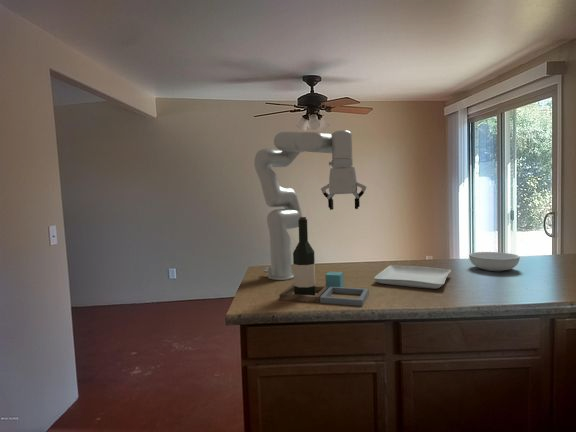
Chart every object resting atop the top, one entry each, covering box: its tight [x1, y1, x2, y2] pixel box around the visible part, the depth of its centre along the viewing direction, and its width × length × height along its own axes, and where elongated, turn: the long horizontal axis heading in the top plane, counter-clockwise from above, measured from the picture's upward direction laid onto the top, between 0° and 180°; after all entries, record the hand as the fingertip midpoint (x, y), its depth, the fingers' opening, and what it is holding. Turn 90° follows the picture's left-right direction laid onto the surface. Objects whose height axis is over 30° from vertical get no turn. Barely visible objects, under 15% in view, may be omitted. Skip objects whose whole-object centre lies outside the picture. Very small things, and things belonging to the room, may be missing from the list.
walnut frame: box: [279, 283, 329, 304], centre depth 142 cm, size 15×15×2 cm
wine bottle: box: [292, 216, 316, 296], centre depth 141 cm, size 8×8×30 cm
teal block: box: [325, 271, 345, 287], centre depth 151 cm, size 6×6×6 cm
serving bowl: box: [468, 251, 521, 272], centre depth 175 cm, size 21×21×7 cm
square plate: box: [373, 264, 452, 290], centre depth 159 cm, size 27×27×4 cm
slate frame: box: [319, 286, 370, 307], centre depth 136 cm, size 15×15×2 cm
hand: (343, 209), depth 141 cm, fingers open, 9 cm apart
